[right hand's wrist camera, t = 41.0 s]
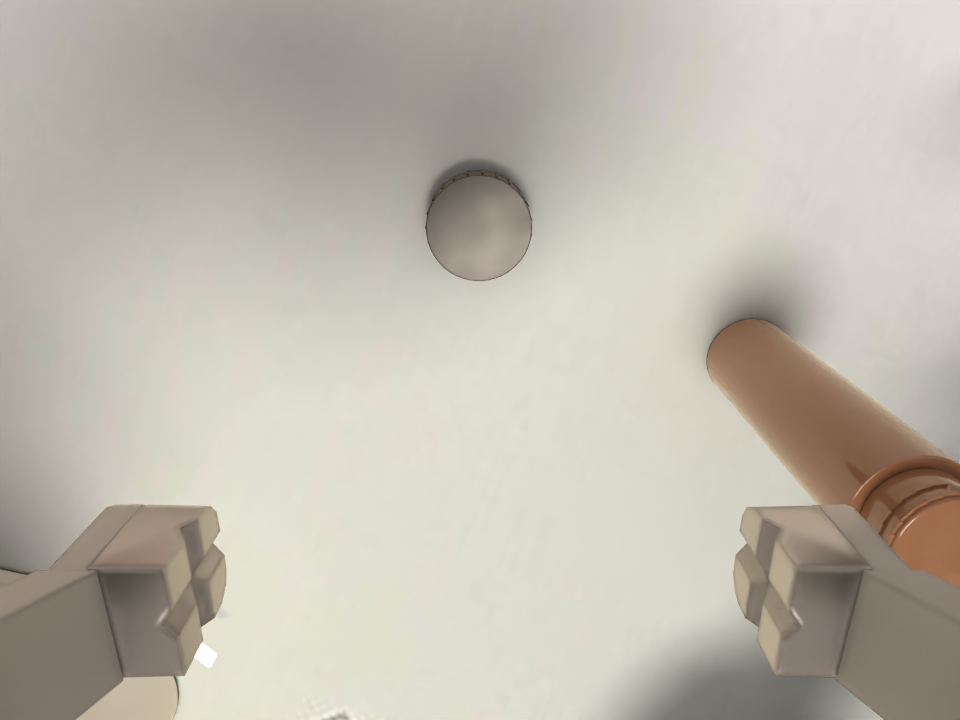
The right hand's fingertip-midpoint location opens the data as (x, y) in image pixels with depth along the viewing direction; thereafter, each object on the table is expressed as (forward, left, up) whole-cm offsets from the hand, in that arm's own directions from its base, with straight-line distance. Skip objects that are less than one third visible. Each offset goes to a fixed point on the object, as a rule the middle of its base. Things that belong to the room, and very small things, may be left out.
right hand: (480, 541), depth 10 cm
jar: (+18, 0, -30) cm, 35 cm away
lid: (0, 0, -28) cm, 28 cm away
